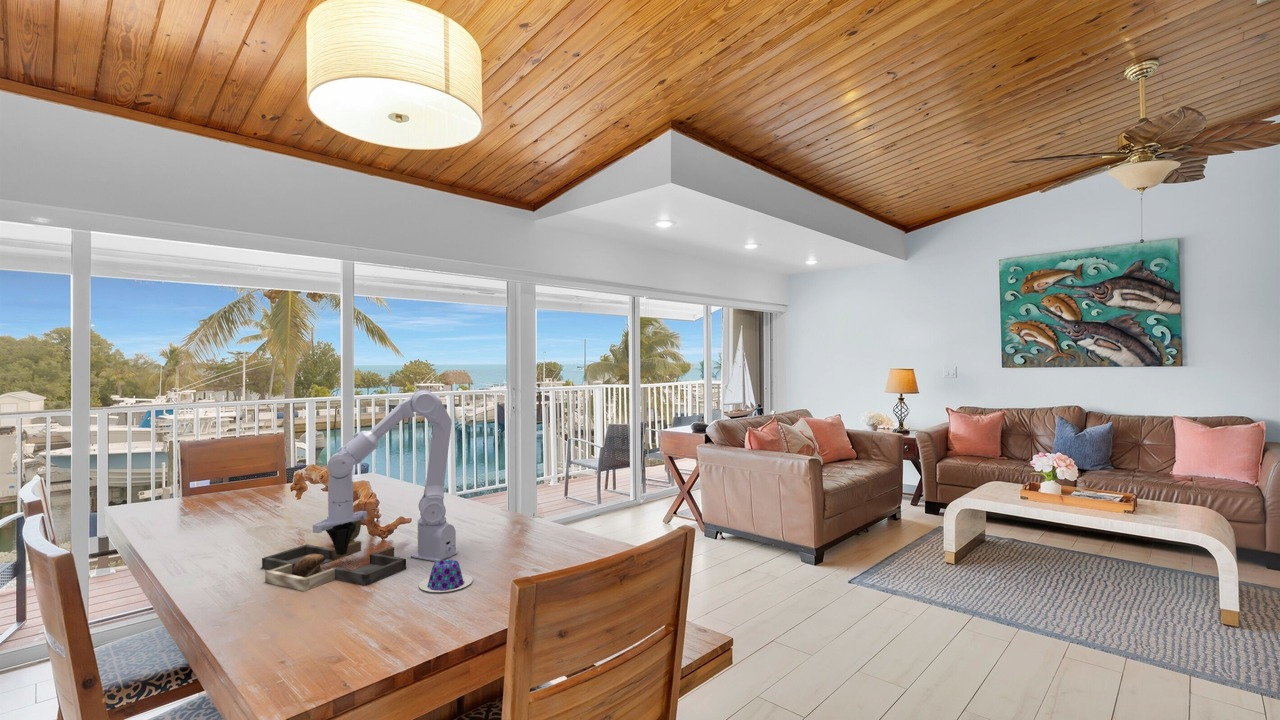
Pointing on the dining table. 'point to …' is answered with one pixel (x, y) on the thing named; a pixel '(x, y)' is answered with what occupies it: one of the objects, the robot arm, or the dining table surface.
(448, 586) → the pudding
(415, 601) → the dining table surface
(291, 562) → the grey brown flat frame
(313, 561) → the mushroom
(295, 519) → the dining table surface
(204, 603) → the dining table surface
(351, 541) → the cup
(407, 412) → the robot arm
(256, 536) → the dining table surface
